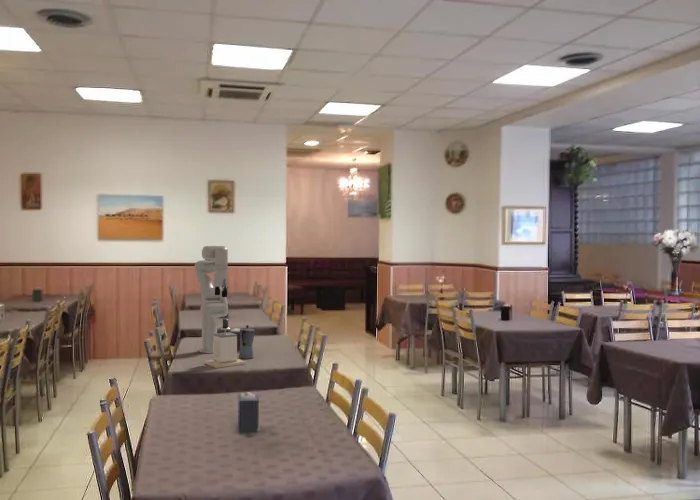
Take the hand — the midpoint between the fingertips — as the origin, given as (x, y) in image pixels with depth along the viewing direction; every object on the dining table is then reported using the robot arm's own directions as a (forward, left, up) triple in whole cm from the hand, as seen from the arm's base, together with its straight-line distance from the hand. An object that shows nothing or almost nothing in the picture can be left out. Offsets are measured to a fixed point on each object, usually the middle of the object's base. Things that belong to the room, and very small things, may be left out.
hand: (220, 296), depth 393 cm
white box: (+11, -2, -39) cm, 40 cm away
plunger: (+11, -2, -36) cm, 38 cm away
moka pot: (+3, +16, -39) cm, 42 cm away
